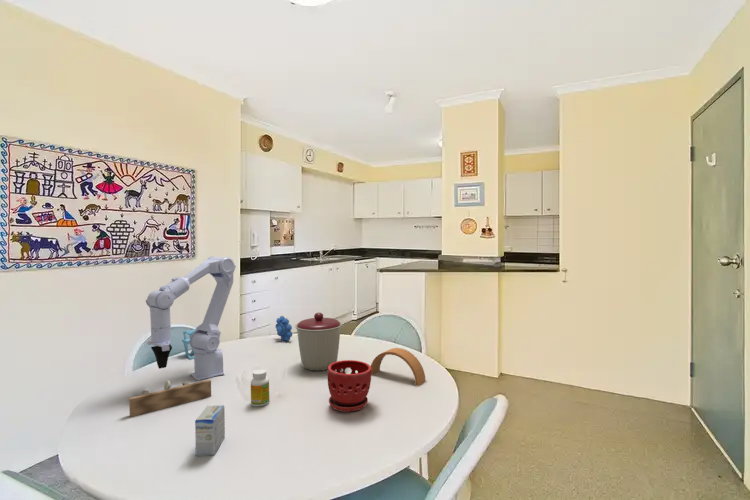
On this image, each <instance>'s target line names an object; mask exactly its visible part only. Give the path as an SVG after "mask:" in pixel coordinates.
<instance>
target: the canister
mask: <svg viewBox="0 0 750 500" xmlns="http://www.w3.org/2000/svg"><path fill="white" fill-rule="evenodd" d="M342 326H343V323H342V322H341V321H339V320H338V319H335V318H332V317H324V313H322V312H316V313H315V314H314V316H313V318H312V317H310V318H307V319H303V320H301V321H299V322H298V323H296V324H295V325H294V328H295V329H296V332H297V333H296V334H297V341H298V347H299V349H298V350H299V355H300V360H301V364H302V366H303V367H304V368H305V369H306V370H309V371H326V370H328V366H329V365H330V364H331V363H334V362H337V361H338V356H339V350H340V349H339V348H340V339H341V338H340V336H341V327H342Z"/></svg>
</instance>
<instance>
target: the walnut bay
mask: <svg viewBox="0 0 750 500" xmlns="http://www.w3.org/2000/svg"><path fill="white" fill-rule="evenodd" d="M210 397H212V380H211V379H210V378H208V379H205V380H201V381H197V382H193V383H190V382H189V381H188V380H186V381H182V385H180V386H176V387H170V389H166V390H164V389H162V390H158V391H153V392H150V391H149V390H148V389H146V390H145V389H144V390H142V394H141V395H136V396H131V397H129V398H128V400H129V401H128V402H129V405H128V406H129V417H130V418H132V417H136V416H140V415H143V414H144V415H145V414H147V413H151V412H156V411H159V410H160V411H161V410H163V409H167V408H172V407H175V406H179V405H182V404H187V403H191V402H194V400H195V401H199V400H202V399H206V398H210ZM198 399H199V400H198Z"/></svg>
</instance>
